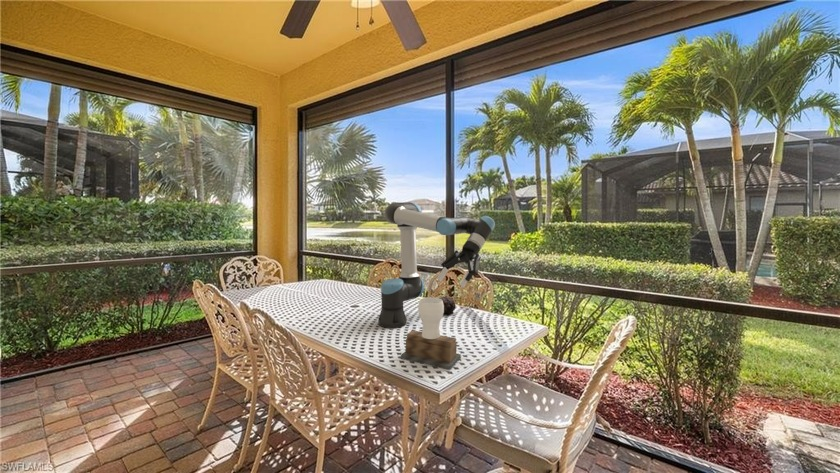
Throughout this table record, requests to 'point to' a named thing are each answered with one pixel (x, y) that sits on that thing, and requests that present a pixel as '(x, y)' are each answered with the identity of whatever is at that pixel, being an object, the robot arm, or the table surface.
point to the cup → (431, 316)
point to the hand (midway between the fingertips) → (449, 283)
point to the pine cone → (448, 305)
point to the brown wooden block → (431, 350)
